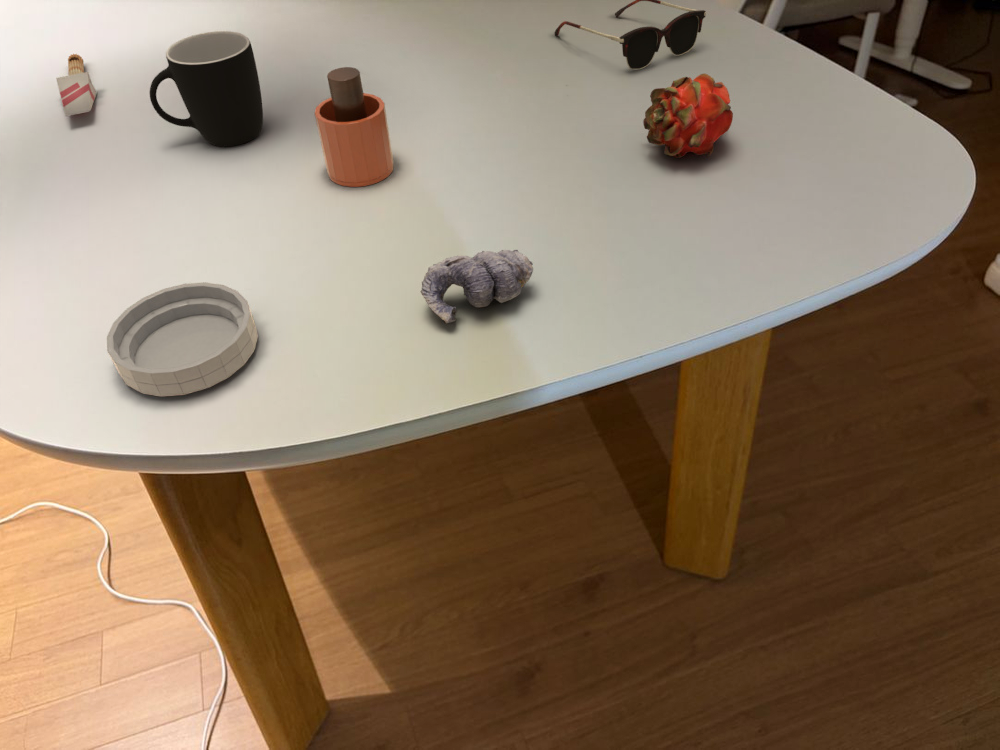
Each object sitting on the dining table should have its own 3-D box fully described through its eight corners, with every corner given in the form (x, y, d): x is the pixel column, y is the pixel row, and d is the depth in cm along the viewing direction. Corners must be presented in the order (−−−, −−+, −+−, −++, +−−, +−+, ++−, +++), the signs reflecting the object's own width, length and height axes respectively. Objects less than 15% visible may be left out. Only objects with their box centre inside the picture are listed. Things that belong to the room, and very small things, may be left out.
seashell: (431, 335, 68) (533, 298, 71) (445, 318, 62) (554, 279, 66) (406, 278, 68) (509, 244, 71) (418, 256, 63) (528, 220, 66)
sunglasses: (621, 76, 99) (622, 35, 96) (546, 45, 110) (544, 7, 107) (703, 48, 104) (707, 7, 101) (624, 20, 115) (624, -17, 112)
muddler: (356, 176, 84) (339, 83, 77) (339, 166, 86) (320, 74, 79) (381, 164, 85) (366, 73, 78) (363, 154, 87) (347, 64, 80)
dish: (103, 405, 62) (87, 377, 59) (141, 315, 69) (129, 287, 67) (246, 395, 62) (235, 367, 60) (268, 305, 70) (259, 278, 67)
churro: (55, 105, 94) (57, 52, 108) (65, 127, 96) (66, 73, 110) (89, 98, 95) (87, 47, 109) (98, 120, 97) (95, 67, 111)
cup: (325, 189, 83) (310, 126, 78) (331, 155, 88) (318, 94, 84) (392, 184, 83) (382, 121, 78) (394, 151, 88) (385, 90, 84)
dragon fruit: (647, 186, 84) (697, 153, 91) (717, 157, 77) (765, 125, 85) (614, 109, 82) (668, 83, 90) (683, 73, 76) (735, 48, 83)
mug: (267, 110, 97) (244, 25, 90) (278, 142, 91) (255, 54, 84) (165, 130, 95) (134, 44, 88) (170, 165, 89) (136, 75, 82)
